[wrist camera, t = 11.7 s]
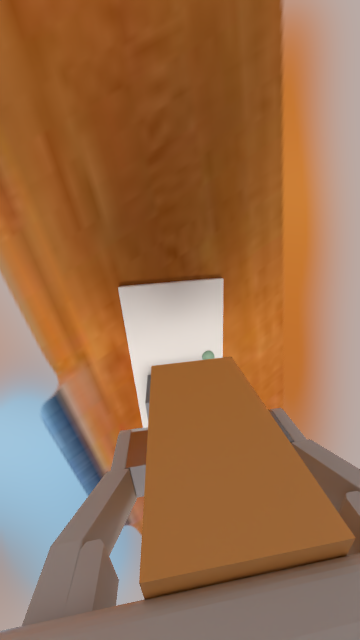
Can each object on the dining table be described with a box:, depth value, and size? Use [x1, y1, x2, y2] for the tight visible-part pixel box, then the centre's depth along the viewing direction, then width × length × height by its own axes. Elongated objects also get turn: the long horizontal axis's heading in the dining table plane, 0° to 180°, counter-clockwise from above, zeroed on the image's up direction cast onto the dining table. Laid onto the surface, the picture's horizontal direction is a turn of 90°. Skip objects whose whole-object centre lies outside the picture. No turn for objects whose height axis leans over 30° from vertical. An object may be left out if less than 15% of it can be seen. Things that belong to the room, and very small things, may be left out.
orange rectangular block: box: [139, 357, 355, 599], centre depth 8 cm, size 4×4×7 cm
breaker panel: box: [118, 278, 223, 428], centre depth 23 cm, size 22×12×6 cm, turn 4°
